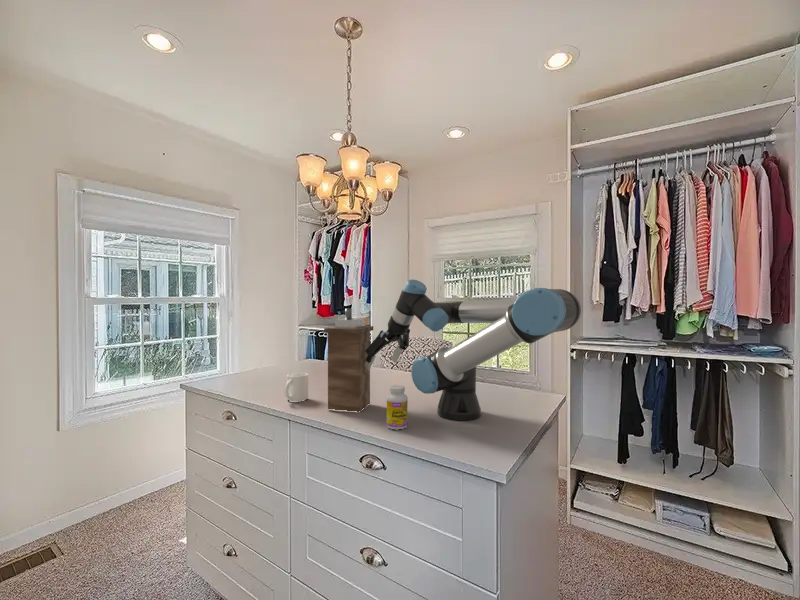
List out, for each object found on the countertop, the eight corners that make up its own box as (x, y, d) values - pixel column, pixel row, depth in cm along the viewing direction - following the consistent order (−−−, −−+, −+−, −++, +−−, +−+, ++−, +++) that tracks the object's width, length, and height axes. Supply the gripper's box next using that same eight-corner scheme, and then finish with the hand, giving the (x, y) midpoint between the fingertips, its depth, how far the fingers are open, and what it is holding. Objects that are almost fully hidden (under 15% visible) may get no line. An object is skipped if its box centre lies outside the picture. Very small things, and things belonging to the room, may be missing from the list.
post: (339, 401, 153) (339, 325, 153) (373, 403, 150) (373, 326, 149) (324, 411, 140) (324, 328, 139) (360, 414, 136) (360, 329, 136)
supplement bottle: (389, 431, 119) (389, 390, 119) (384, 424, 125) (384, 385, 125) (410, 429, 121) (410, 388, 121) (404, 422, 127) (404, 383, 127)
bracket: (354, 324, 161) (354, 307, 161) (373, 324, 159) (373, 307, 159) (335, 327, 142) (335, 308, 141) (355, 328, 140) (355, 308, 139)
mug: (294, 406, 146) (294, 379, 146) (276, 404, 149) (276, 377, 149) (312, 398, 157) (312, 373, 157) (295, 396, 160) (295, 371, 160)
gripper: (417, 310, 150) (397, 352, 158) (368, 317, 131) (349, 364, 140) (430, 321, 146) (409, 364, 154) (381, 330, 127) (361, 377, 136)
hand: (380, 364), depth 147 cm, fingers open, 14 cm apart
